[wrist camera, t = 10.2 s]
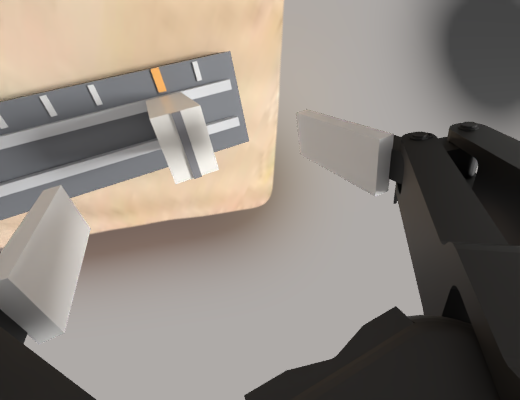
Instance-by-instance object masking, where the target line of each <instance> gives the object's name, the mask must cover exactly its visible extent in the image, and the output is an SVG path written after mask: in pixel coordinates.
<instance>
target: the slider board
mask: <svg viewBox="0 0 520 400" xmlns="http://www.w3.org/2000/svg"><path fill="white" fill-rule="evenodd" d="M179 92H181V93H183V94H184V95H186V96H187V97H189V98H190V99H192V100H193V101H195V102H196V103H198V104H199V105H200V106H201V109H202V113H203V116H204V120H205V123H206V127H207V130H208V133H209V137H210V140H211V144H212V147H213V151H214V152H217V151H220V150H223V149H226V148H229V147H232V146H235V145H239V144H242V143H245V142H248V141H249V138H248V134H247V129H246V124H245V119H244V115H243V110H242V105H241V100H240V96H239V91H238V86H237V81H236V76H235V72H234V67H233V62H232V57H231V53H230V51H229V52H222V53H218V54H213V55H209V56H204V57H200V58H195V59H190V60H186V61H181V62H177V63H172V64H168V65H163V66H159V67H154V68H150V69H145V70H141V71H136V72H132V73H127V74H123V75H118V76H114V77H109V78H105V79H100V80H96V81H91V82H87V83H82V84H78V85H73V86H69V87H64V88H60V89H55V90H50V91H46V92H41V93H37V94H32V95H28V96H23V97H19V98H14V99H10V100H5V101H1V102H0V220H3V219H6V218H9V217H12V216H16V215H19V214H22V213H25V212H28V211H30V209H31V208H32V206H33V205H34V203H35V202H36V200H37V199H38V197H39V196H40V195H41V193H42V192H43V190H46V189H49V188H52V187H56V186H59V185H61V186H62V187H63V188H64V190H65V191H66V193H67V194H68V196H69V197H70V198H72V197H75V196H78V195H82V194H85V193H88V192H91V191H94V190H97V189H100V188H104V187H107V186H110V185H113V184H116V183H119V182H122V181H125V180H129V179H132V178H135V177H138V176H141V175H144V174H147V173H151V172H154V171H157V170H160V169H163V168H166V167H169V166H168V164H167V161H166V159H165V156H164V154H163V151H162V149H161V146H160V144H159V141H158V139H157V136H156V134H155V131H154V129H153V126H152V124H151V122H150V119H149V115H148V110H147V105H146V101H147V100H151V99H155V98H159V97H163V96H167V95H171V94H175V93H179Z"/></svg>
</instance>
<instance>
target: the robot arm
mask: <svg viewBox="0 0 520 400" xmlns="http://www.w3.org/2000/svg"><path fill="white" fill-rule="evenodd" d="M296 116H297V126H298V136H299V145H300V154H301V155H303V156H304V157H306V158H308V159H310V160H312V161H313V162H315V163H317V164H319V165H321V166H322V167H324V168H326V169H327V170H329V171H331V172H333V173H334V174H336V175H338V176H340V177H341V178H344V179H345V180H347V181H349V182H350V183H352V184H354V185H356V186H357V187H359V188H361V189H363V190H365V191H367V192H368V193H370V194H372V195H373V196H378V195H380V194H382V193H384V192H387V191H388V186H389V179H391V180H393V181H396V188H395V196H394V204H395V203H397V201H398V204H399V208H400V212H401V217H402V220H403V225H404V229H405V233H406V238H407V242H408V247H409V251H410V255H411V259H412V264H413V268H414V272H415V276H416V281H417V285H418V289H419V293H420V298H421V302H422V306H423V312H424V315H416V316H408V317H407V316H406V315H405V314H403V313H402V312H401V311H400V310H399V309H398V308H397V307H394V308H392V309H390V310H389V311H387V312H385V313H384V314H382V315H380V316H379V317H377V318H375V319H373V320H372V321H370V322H368V323H367V324H365V325H363V326H362V328H361V329H360V330H359V331H358V332H357V333H356V334H355V336H354V337H353V338H352V339H351V340H350V341H349V342H348V343H347V345H346V346H345V347H344V348H343V349H342V350H341V351H340V353H339V354H338V355H337V356H336V357H334V358H333V359H330V360H326V361H322V362H318V363H314V364H311V365H307V366H303V367H299V368H295V369H291V370H287V371H285V372H284V373H282V374H280V375H278V376H277V377H275V378H273V379H271V380H270V381H268V382H266V383H265V384H263V385H261V386H260V387H258V388H256V389H254V390H253V391H251V392H249V393H248V394H246V395H245V396H244V397H245V400H520V141H518V140H516V139H514V138H512V137H510V136H507V135H505V134H503V133H501V132H498V131H496V130H494V129H492V128H490V127H488V126H485V125H482V124H477V123H474V122H464V123H458V124H454V125H452V126H450V128H449V133H448V137H443V138H437V137H436V136H435V135H434V134H431V133H425V132H413V133H408V134H405V135H403V136H402V137H399V136H396V135H394V134H391V133H388V132H385V131H381V130H378V129H374V128H371V127H367V126H364V125H360V124H356V123H353V122H350V121H346V120H342V119H339V118H335V117H332V116H328V115H325V114H322V113H317V112H314V111H311V110H303V111H300V112H297V113H296ZM477 165H478V171H477V174H476V173H475V171H476V168H477ZM90 229H91V228H90V227H89V225H88V224H87V223H86V221H85V220H84V218H83V217H82V215H81V214H80V212H79V211H78V209H77V208H76V206H75V205H74V203H73V202H72V200H71V199H70V197H69V196H68V194H67V193H66V191H65V190H64V188H63V187H62V186H61V185H59V186H56V187H52V188H49V189H46V190H43V192H42V193H41V195H40V196H39V197H38V199H37V200H36V202H35V203H34V205H33V206H32V208H31V209H30V211H29V212H28V213H27V215H26V216H25V218H24V219H23V221H22V222H21V224H20V225H19V227H18V228H17V230H16V231H15V232H14V234H13V235H12V237H11V238H10V240H9V241H8V243H7V244H6V246H5V247H4V248H3V250H2V251H1V252H0V400H96V399H95V398H93V397H92V396H91V395H89V394H88V393H87V392H86V391H84V390H83V389H81V388H80V387H79V386H78V385H76V384H75V383H73V382H72V381H71V380H70V379H68V378H67V377H66V376H64V375H63V374H62V373H61V372H59V371H58V370H57V369H55V368H54V367H53V366H51V365H50V364H48V363H47V362H46V361H45V360H43V359H42V358H41V357H39V356H38V355H37V354H36V353H34V352H33V351H32V350H30V349H29V348H28V347H26V346H25V345H24V341H25V338H26V336H27V335H29V336H30V337H31V338H32V339H33V340H35V341H36V342H37V343H38V344H41V343H43V342H45V341H47V340H50V339H52V338H54V337H57V336H59V335H61V334H64V333H65V329H66V325H67V321H68V317H69V313H70V309H71V305H72V301H73V297H74V293H75V289H76V285H77V281H78V277H79V273H80V269H81V265H82V261H83V257H84V253H85V249H86V245H87V241H88V237H89V233H90Z"/></svg>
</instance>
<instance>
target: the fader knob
mask: <svg viewBox="0 0 520 400" xmlns="http://www.w3.org/2000/svg"><path fill="white" fill-rule="evenodd" d="M146 105H147V110H148V115H149V119H150V122H151V124H152V126H153V129H154V131H155V134H156V136H157V139H158V141H159V144H160V146H161V149H162V151H163V154H164V156H165V159H166V161H167V164H168V166H169V169H170V171H171V174H172V176H173V179H174V181H175V184H178V183H181V182H184V181H187V180H190V179H193V178H194V179H196V178H199V177H202V175H205V174H208V173H211V172H213V171H216V170H219V168H218V164H217V161H216V158H215V154H214V151H213V147H212V144H211V140H210V137H209V133H208V130H207V127H206V123H205V120H204V116H203V113H202V109H201V106H200V105H199V104H198V103H196V102H195V101H193V100H192V99H190V98H189V97H187V96H186V95H184V94H183V93H181V92H179V93H175V94H171V95H167V96H163V97H159V98H155V99H151V100H147V101H146Z"/></svg>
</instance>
